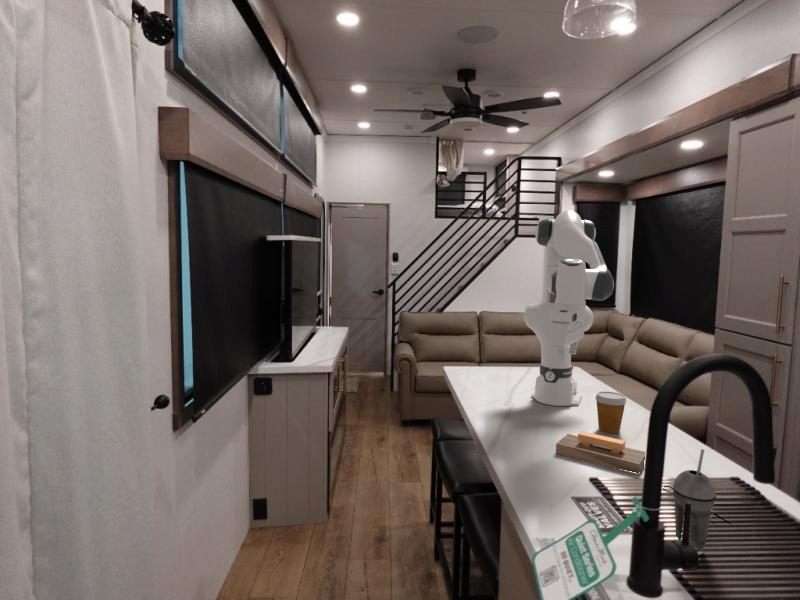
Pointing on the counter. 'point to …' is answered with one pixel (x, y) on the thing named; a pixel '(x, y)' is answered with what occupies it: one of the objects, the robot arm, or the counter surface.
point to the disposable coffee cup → (610, 411)
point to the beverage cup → (694, 503)
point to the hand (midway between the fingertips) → (567, 357)
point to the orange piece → (601, 441)
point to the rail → (601, 454)
